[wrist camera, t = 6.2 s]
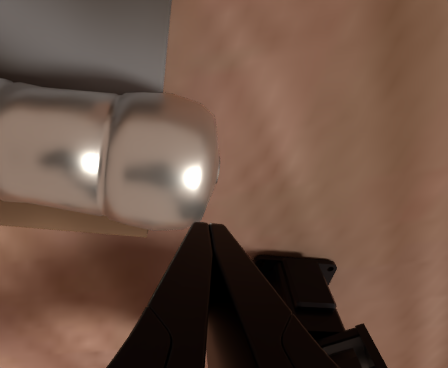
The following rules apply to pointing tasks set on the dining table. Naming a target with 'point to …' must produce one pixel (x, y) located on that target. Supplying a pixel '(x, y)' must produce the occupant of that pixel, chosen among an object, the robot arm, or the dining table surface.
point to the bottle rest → (82, 72)
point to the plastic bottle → (108, 154)
